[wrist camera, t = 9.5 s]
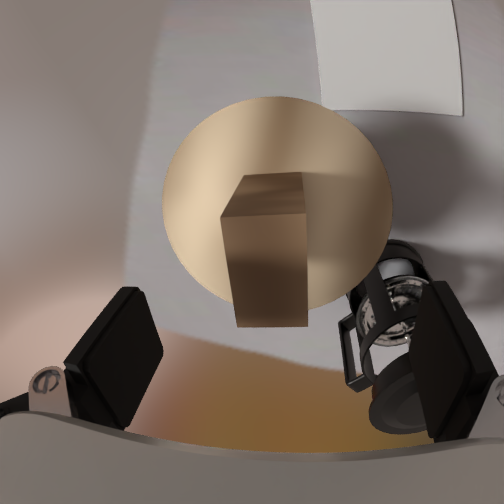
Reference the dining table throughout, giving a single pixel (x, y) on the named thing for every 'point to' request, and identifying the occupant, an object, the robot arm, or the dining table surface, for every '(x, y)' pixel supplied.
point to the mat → (388, 55)
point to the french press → (387, 341)
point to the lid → (277, 208)
